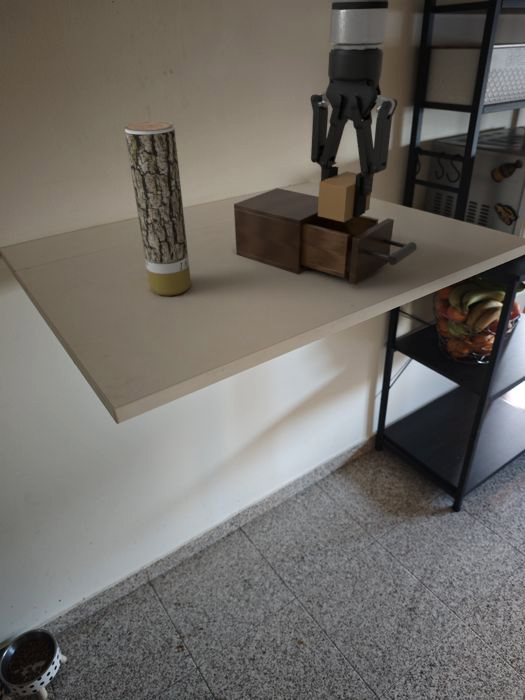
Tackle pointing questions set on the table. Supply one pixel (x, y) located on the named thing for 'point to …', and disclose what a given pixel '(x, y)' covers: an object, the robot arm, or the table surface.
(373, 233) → the drawer
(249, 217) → the cabinet
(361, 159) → the robot arm
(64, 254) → the table surface
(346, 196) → the small cardboard box
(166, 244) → the paper tube
